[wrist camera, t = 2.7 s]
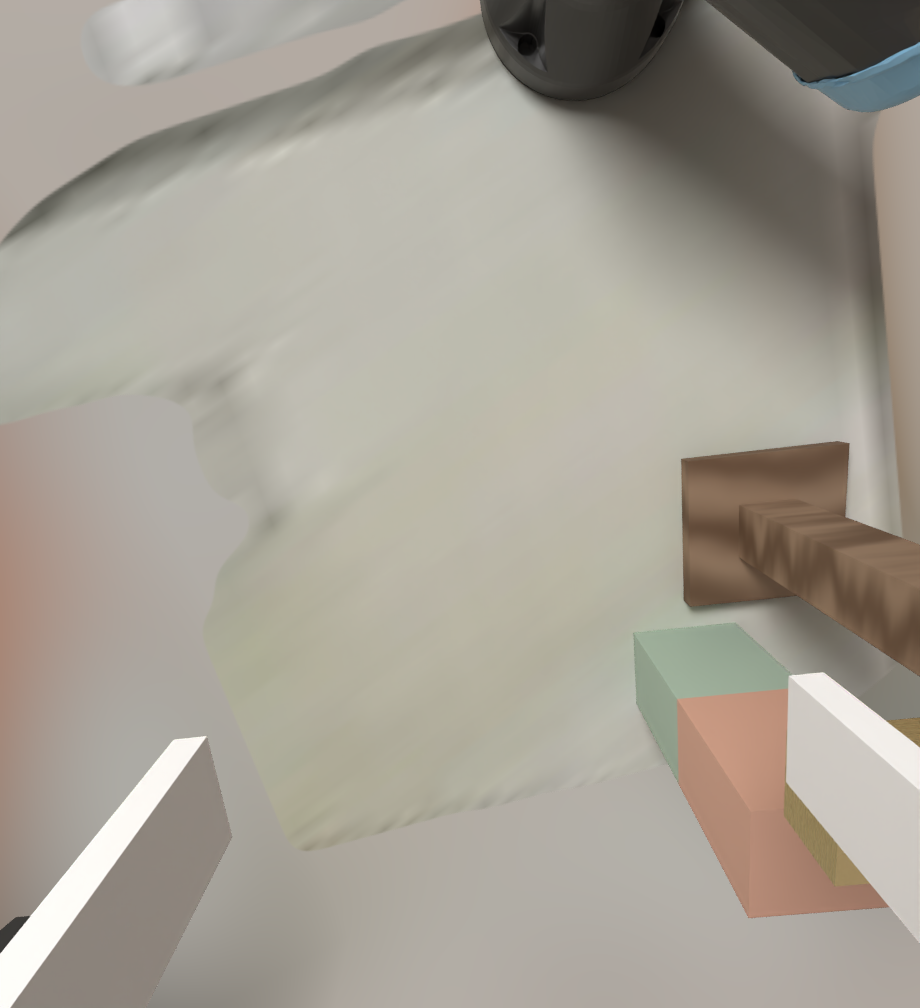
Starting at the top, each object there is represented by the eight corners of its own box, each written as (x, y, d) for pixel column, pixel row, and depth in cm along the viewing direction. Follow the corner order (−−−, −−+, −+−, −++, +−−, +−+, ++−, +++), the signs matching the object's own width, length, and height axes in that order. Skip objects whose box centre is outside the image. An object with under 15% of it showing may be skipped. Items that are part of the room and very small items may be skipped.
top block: (676, 699, 41) (750, 811, 31) (805, 686, 41) (925, 796, 30) (678, 783, 43) (748, 918, 32) (801, 773, 43) (913, 905, 32)
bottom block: (633, 632, 52) (676, 699, 41) (735, 622, 52) (805, 686, 41) (636, 703, 54) (678, 784, 43) (734, 693, 53) (801, 773, 43)
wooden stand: (681, 458, 48) (1019, 587, 19) (837, 441, 47) (1437, 545, 18) (683, 600, 51) (974, 897, 22) (829, 585, 50) (1327, 869, 21)
